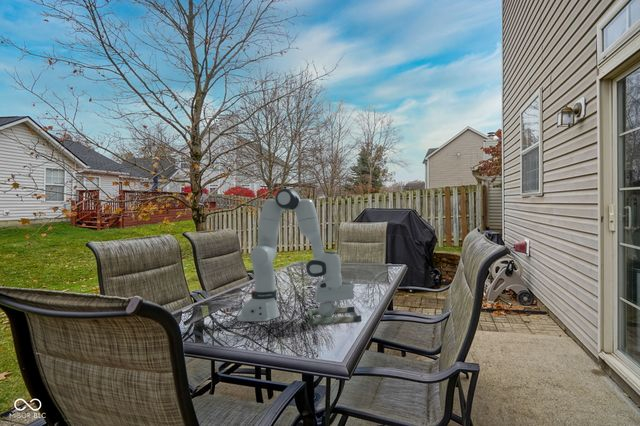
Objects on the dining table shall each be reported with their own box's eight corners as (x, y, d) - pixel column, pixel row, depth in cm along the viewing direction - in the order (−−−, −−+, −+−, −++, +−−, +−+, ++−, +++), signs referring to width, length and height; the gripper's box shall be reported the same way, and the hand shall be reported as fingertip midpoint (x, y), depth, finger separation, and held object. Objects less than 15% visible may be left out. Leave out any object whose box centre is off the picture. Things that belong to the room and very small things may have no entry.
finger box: (311, 325, 171) (310, 319, 171) (309, 314, 191) (308, 309, 191) (361, 321, 173) (361, 315, 173) (354, 311, 193) (354, 306, 193)
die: (338, 315, 183) (329, 300, 188) (336, 311, 176) (327, 295, 181) (325, 324, 182) (316, 308, 187) (322, 320, 175) (313, 303, 180)
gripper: (352, 279, 186) (354, 305, 186) (314, 283, 185) (316, 309, 184) (354, 281, 180) (356, 308, 180) (314, 285, 178) (316, 312, 178)
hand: (335, 309), depth 182 cm, fingers closed, pressing on die
